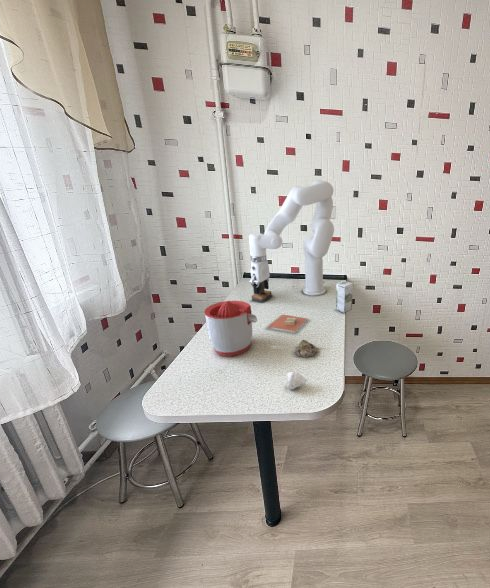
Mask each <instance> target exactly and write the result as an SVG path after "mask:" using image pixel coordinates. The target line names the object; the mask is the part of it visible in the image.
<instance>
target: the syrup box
mask: <svg viewBox="0 0 490 588" xmlns="http://www.w3.org/2000/svg"><path fill="white" fill-rule="evenodd" d="M335 285H336V287H335V288H336V291H335V296H336V297H335V309H336V310H338V312H339V313H343V314H345V313H349V312H350V311H352V310H353V289H354V288H353V287H354V283H352V282H350V281H348V280H342V281H340V282H337V283H336V284H335Z"/></svg>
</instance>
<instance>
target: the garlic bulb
mask: <svg viewBox="0 0 490 588" xmlns="http://www.w3.org/2000/svg"><path fill="white" fill-rule="evenodd" d="M307 381H308V378H305V377H304V376H303V375H302V374H299V372H297V371H290V372H288V373H287V375H286V388H287V389H288V390H295V389H297V388H299V387H300V386H302V385H305V384H307Z"/></svg>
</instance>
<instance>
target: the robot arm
mask: <svg viewBox="0 0 490 588" xmlns="http://www.w3.org/2000/svg"><path fill="white" fill-rule="evenodd" d="M333 194H334V186H333V185H332V184H331V183H330V182H328V181H326V180H322V179H321V180H320V179H316V180H313V181H312V183H311V184H310V185H306V186H300V185H295V186H293V187H292V188H291V189H290V191H289V192H288V194H287V196H286V198H285V199H284V201H283V203H282V205H281V207H280V208H279V210H278V211H277V212H276V214H275V215H274V217H272V219H271V220H270V221H269V223H268V225H267V226H266V229H265V231H264V233H261V232H254V233H253V232H252V233H250V234H249V235H248V244H249V245H248V246H249V256H250V277H251V278H250V280H249V284H250V285H251V286H252V289H253V295H254V294H260V287H259V282H264V290H269V288H270V287H269V282H270V280H269V278H270V277H271V272H270V266H269V260H268V257H267V249H269V250H277V249H280V248H281V247H282V245H283V239H282V237H281V234H282V232H283V230H284V229H285V228H286V227H287V226H288V225H289V224H292V223H293V222H294V221H296V219H297V217H298V216H299V213H300V211H301V210H302V208H303V207H304V206H305V207H306V206H309V205H313V204H316V205H315V209H314V212H313V215H312V219H311V222H310V229H311V231H312V232H313V233H314V234H313V235H308V236H307V237H305V239H304V240H303V244H302V247H303V255H304V278H305V279H304V281H305V287H303V289H302V293H303V294H304V295H307V296H320V295H323V294H325V293H326V291H327V290H326V288H325V287H324V284H325V281H324V274H323V273H324V269H323V268H324V261H323V259H324V258H323V257H325V256H326V255H327V254H328V251H329V249H330V246H331V243H332V240H333V238H334V237H333V236H334V233H335V226H334V223H333V222H332V221H331V217H332V212H333V209H334V201H333V197H332V196H333Z"/></svg>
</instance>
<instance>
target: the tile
mask: <svg viewBox="0 0 490 588" xmlns="http://www.w3.org/2000/svg"><path fill="white" fill-rule="evenodd" d="M287 318H296V322H295V324H294V325H285V321H286V319H287ZM308 320H309V318H307V317H301V316H294V315H289V314H281V315H280V316H278V318H276V319H275V320H274V321H273V322H272V323H270V324H269V325H268V326H267V328H273V329H279V330H284V331H291V332H296V331H298V329H299V328H301V327H302V325H304V324H305V323H306V322H307V321H308Z"/></svg>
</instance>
